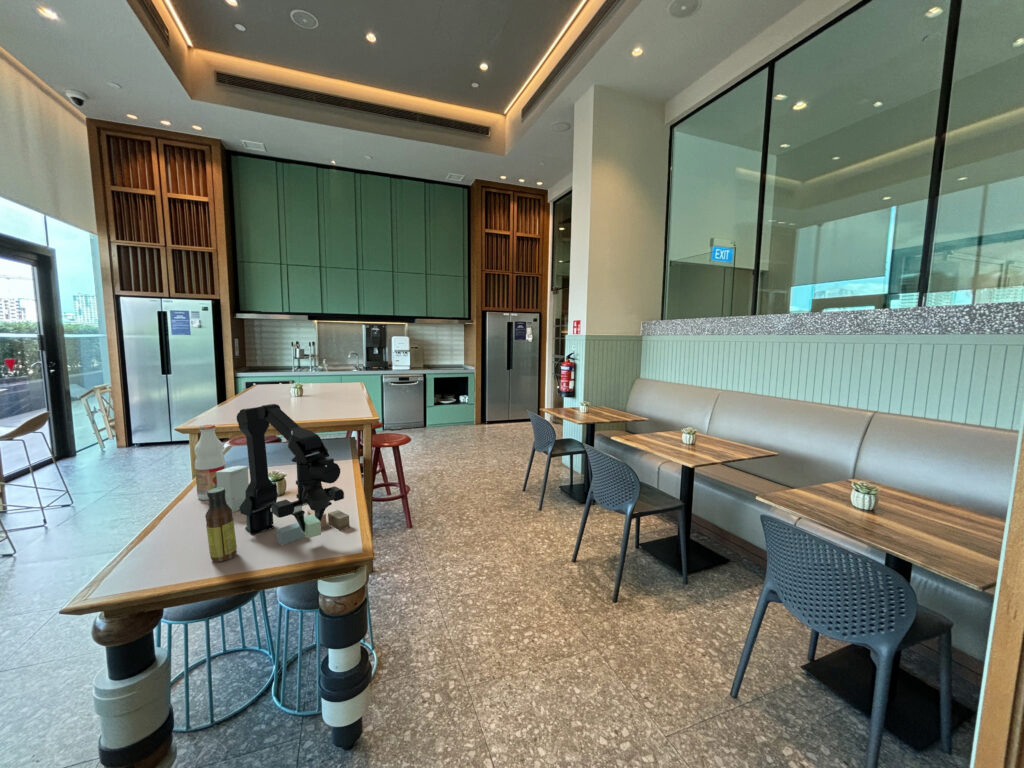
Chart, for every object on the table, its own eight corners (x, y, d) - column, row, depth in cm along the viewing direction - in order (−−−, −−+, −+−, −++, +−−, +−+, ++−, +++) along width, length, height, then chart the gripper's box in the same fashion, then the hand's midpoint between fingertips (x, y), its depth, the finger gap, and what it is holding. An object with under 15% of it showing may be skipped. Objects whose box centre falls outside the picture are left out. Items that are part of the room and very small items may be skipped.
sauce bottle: (236, 549, 119) (232, 483, 117) (237, 558, 114) (233, 490, 112) (208, 556, 115) (203, 488, 113) (208, 566, 110) (203, 495, 108)
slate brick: (282, 545, 122) (281, 532, 121) (277, 542, 124) (276, 529, 123) (305, 536, 127) (305, 524, 127) (300, 533, 129) (299, 521, 129)
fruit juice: (202, 493, 163) (197, 424, 160) (230, 490, 166) (225, 422, 163) (193, 501, 154) (187, 429, 151) (222, 498, 157) (217, 427, 154)
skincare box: (232, 513, 144) (229, 472, 142) (217, 512, 145) (214, 471, 143) (251, 504, 152) (248, 465, 150) (237, 503, 153) (234, 464, 151)
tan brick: (326, 525, 135) (325, 514, 135) (315, 528, 133) (314, 517, 132) (318, 518, 140) (318, 507, 140) (308, 522, 138) (307, 510, 137)
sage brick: (321, 534, 119) (320, 521, 119) (308, 538, 117) (307, 525, 117) (313, 526, 124) (312, 514, 124) (300, 530, 122) (300, 517, 122)
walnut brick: (349, 527, 134) (349, 515, 134) (339, 530, 131) (338, 519, 131) (338, 521, 138) (338, 509, 138) (328, 524, 136) (327, 513, 135)
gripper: (285, 493, 107) (288, 550, 108) (352, 475, 121) (354, 526, 122) (269, 483, 114) (272, 536, 116) (334, 468, 128) (336, 515, 130)
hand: (310, 528), depth 121 cm, fingers closed on sage brick, 4 cm apart
